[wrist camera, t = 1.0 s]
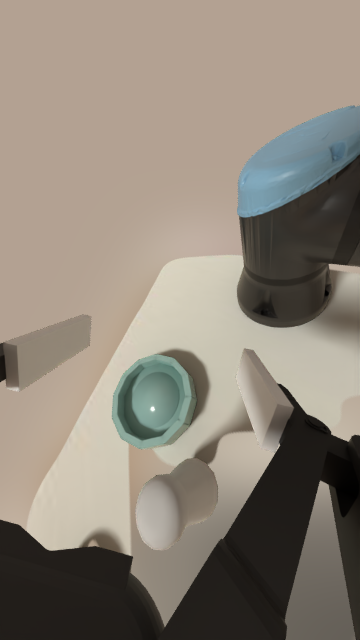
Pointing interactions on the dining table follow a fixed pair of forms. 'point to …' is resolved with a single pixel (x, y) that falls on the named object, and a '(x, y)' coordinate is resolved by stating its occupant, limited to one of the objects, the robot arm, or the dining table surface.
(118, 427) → the dish
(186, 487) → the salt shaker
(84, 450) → the dining table surface
